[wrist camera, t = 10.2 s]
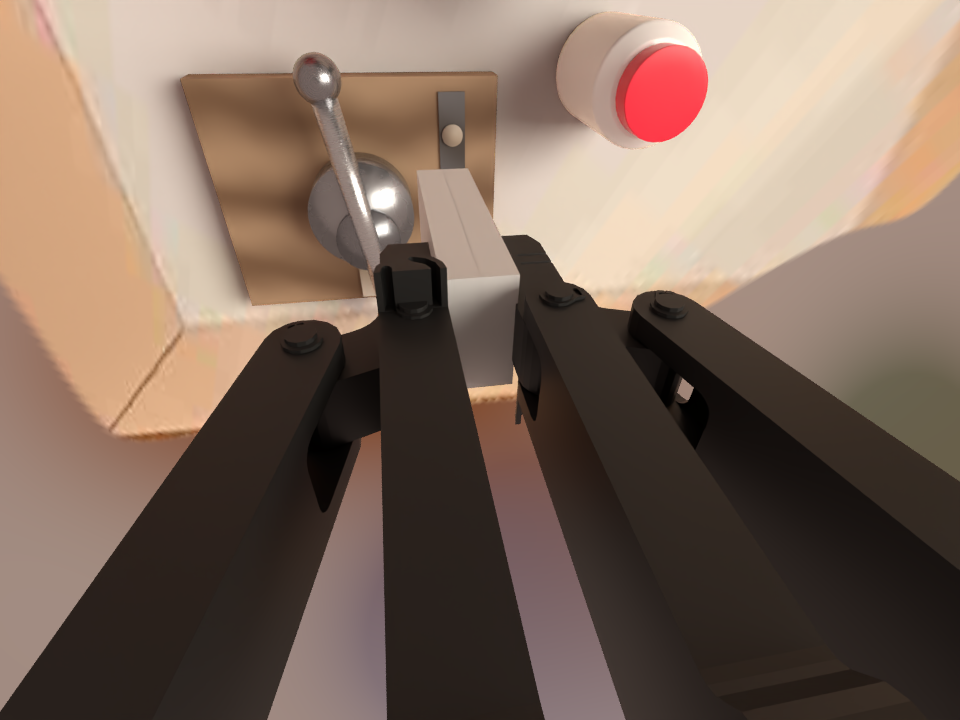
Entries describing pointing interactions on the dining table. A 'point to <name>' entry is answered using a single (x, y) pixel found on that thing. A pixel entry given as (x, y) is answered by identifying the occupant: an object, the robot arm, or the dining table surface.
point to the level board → (302, 153)
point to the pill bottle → (632, 78)
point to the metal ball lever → (350, 179)
